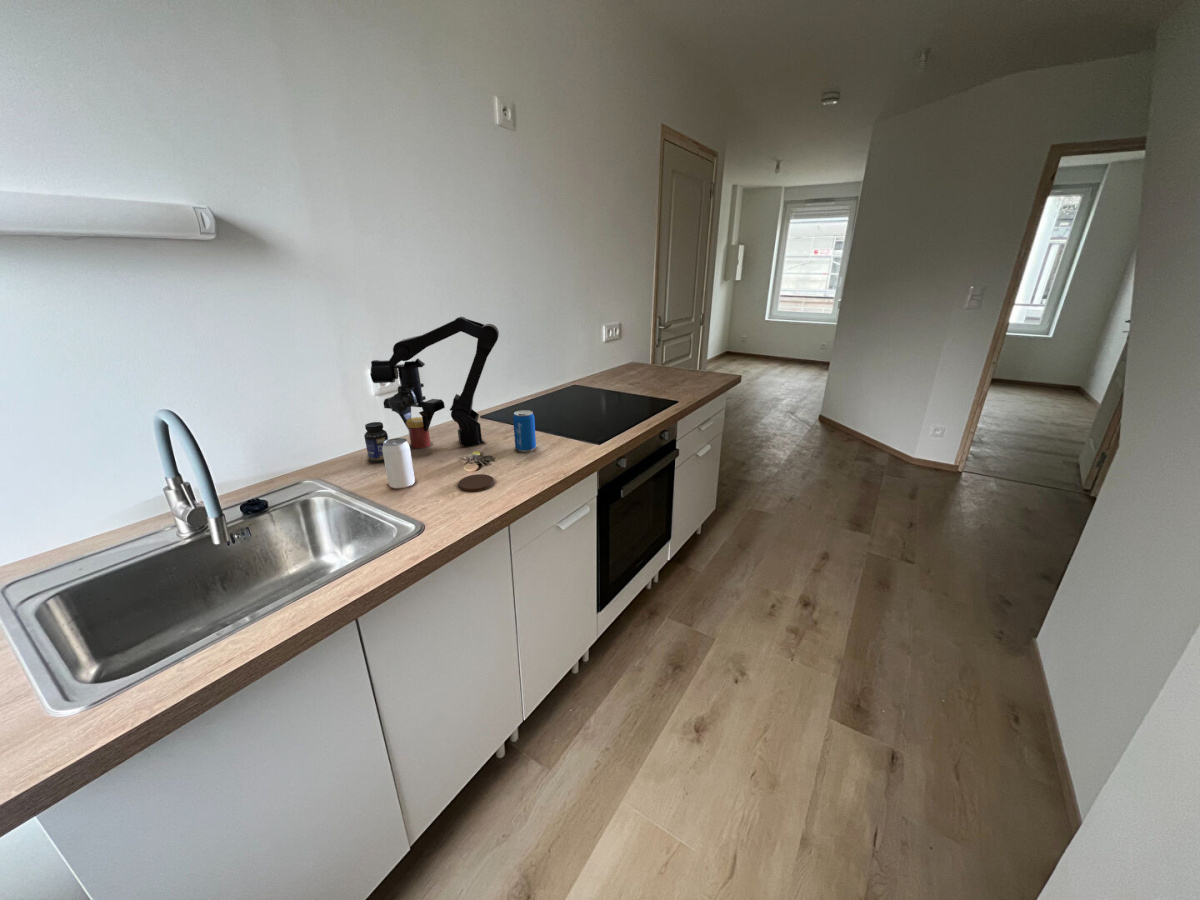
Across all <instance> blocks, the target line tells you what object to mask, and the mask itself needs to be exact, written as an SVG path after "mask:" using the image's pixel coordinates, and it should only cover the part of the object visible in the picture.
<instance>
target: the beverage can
mask: <svg viewBox="0 0 1200 900" xmlns="http://www.w3.org/2000/svg"><path fill="white" fill-rule="evenodd" d="M512 420H513V434H514V448H515V449H516V450H517V451H518V452H521V453H528V452H533V451H534V449H536V448H537V441H536V422H535V415H534V413H533V411H532V410H529V409H526V410H525V409H523V410H522V409H521V410H517V411H515V412H514V413H513V416H512Z"/></svg>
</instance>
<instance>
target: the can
mask: <svg viewBox="0 0 1200 900" xmlns="http://www.w3.org/2000/svg"><path fill="white" fill-rule="evenodd" d="M382 451H383V457H384V462H383V463H384V466H385V472H386V477H387V482H388V483H387V484H388V486H389V487H390V488H391V489H396V490H401V489H406V488H410V487H411V486H413V485H414V484H415V482H416V478H415V473H414V472H415V471H414V464H413V458H412V452H411V446H410V444H409V442H408V441H407V438H405V437H393V438H388V440H386V441H384V442H383V448H382Z"/></svg>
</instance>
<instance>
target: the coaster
mask: <svg viewBox="0 0 1200 900" xmlns="http://www.w3.org/2000/svg"><path fill="white" fill-rule="evenodd" d="M494 479H495V478H494V477H492V476H491V475H489V474H484V473H478V474H471V475H467V476H465V477H462V478H461V479H460V480H459V481H458V484H457V485H458V488H459V489H460V490H461V491H465V492H470V493H471V492H472V493H473V492H480V491H485V490H487V489H490V488H491V487H492V486H493V485H494V484H495V480H494Z"/></svg>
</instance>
